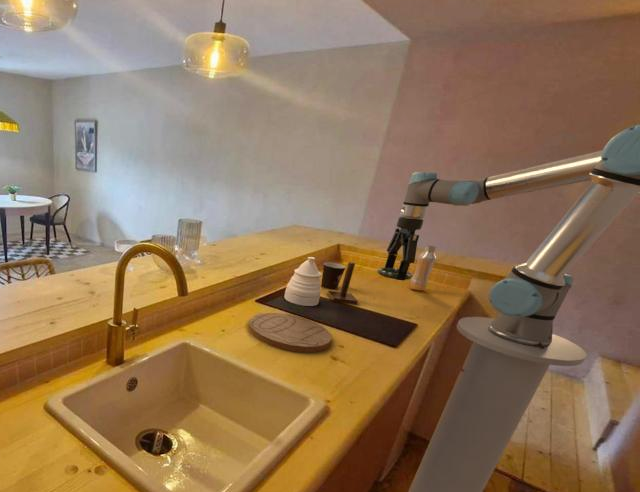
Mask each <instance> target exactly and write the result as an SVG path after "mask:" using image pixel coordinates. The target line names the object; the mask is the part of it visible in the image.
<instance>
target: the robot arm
mask: <svg viewBox="0 0 640 492" xmlns="http://www.w3.org/2000/svg"><path fill="white" fill-rule="evenodd" d="M589 181H590V183H589V184H588V186H587V187H586V189H585V190H584V191H583V192H582V194H581V195H580V196H579V197H578V198H577V199H576V200H575V202H574V203H573V204H572V206H571V207H570V208H569V209H568V211H567V212H566V213H565V214H564V215H563V217H562V218H561V219H560V220H559V222H558V223H557V224H556V225H555V226H554V227H553V229H552V230H551V231H550V233H549V234H548V235H547V236H546V237H545V238H544V239H543V241H542V242H541V243H540V245H538V247H537V248H536V249H535V251H534V252H533V253H532V254H531V256H530V257H529V258H528V259H527V261H525V262H522V263H518V264H515V265H514V266H513V268H512V269H511V270H510V271H509V272H508V273H507V274H506V276H505V278H503V279H501V280H499V281H498V282H496V283H495V284H494V285H492V287H491V288H490V290H489V293H488V300H489V303H490V305H491V307H492V308H493V309H494V310H496V311H497V312H498V313H499V314H498V315H497V316H496V317H495V318H494V321H492V322H491V323H490V325H489V327H488V330H489V331H490V332H491V333H492V334H494V335H496V336H498V337H500V338H503V339H505V340H508V341H511V342H515V343H518V344H522V345H527V346H533V347H541V349H544V347H548V346H550V344H551V342H552V334H553V327H554V326H553V323H554V320H555V318H556V316H557V314H558V313H559V310H560V308H561V307H562V304H563V303H564V300H565V299H566V296H567V295H568V293H569V291H570V289H571V288H572V287H573V282H574V277H573V276H572V275H570V274H567V273H568V271H570V269H571V268H572V267H573V266H574V265H575V264H576V263H577V261H578V260H579V259H581V257H582V256H583V255H584V254H585V253H586V252H587V251H588V250H589V248H590V247H591V246H592V245H593V244H594V243H595V242H596V240H597V239H598V238H599V237H600V236H601V235H602V234H603V232H605V230H606V229H607V228H609V226H610V225H611V224H612V223H613V222H614V220H615V219H616V218H618V216H619V215H620V214H621V212H622V211H624V209H626V207H627V206H628V205H629V204H630V203H631V202H632V201H633V200H634V198H635V197H636V196H637V195H639V194H640V124H636V125H633V126H630V127H628V128H626V129H624V130H622V131H620V132H618V133H617V134H616V135H614V136H613V137H612V138H611V139H610V140H609V141H608V142H607V143H606V144H605V146H604V147H603V149H602V150H601V149H600V150H597V151H593V152H589V153H585V154H580V155H576V156H571V157H568V158H563V159H559V160H555V161H550V162H546V163H542V164H539V165H534V166H530V167H526V168H521V169H517V170H513V171H507V172H505V173H501V174H497V175H496V174H495V175H491V176H488V177H483V178H479V179H475V180H451V179H450V180H449V179H440V178H439V174H438V173H437V172H429V171H428V172H427V171H425V172H424V171H416V172H413V173H412V175H411V177H410V180H409V181H408V182H409V183H408V184H407V188H406V189H407V190H406V193H405V196H404V200H403V203H402V205H401V207H400V213H399V215H400V216H399V217H398V219H397V222H396V227H397V228H395V229H394V234H393V235H392V238H391V240H390V242H389V244H388V246H387V248H386V252H387V254H388V255H387V259H386V261H385V265H384V268H386V267H387V268H395V265H396V261H397V256H398V255H399V253H398V252H399V251H400V249H401V247H402V260H400V261H399V267H398V269H399V270H398V273H397V276H396V279H395V280H396V281H404V282H405V281H406V280H405V278H406V274H407V271H408V272H409V268H410V266H411V265H410V264H414V263H415V261H416V254H417V247H418V241H419V238H420V235H419V234H416V231H417V230H418V231H419V230H422V227H423V224H424V221H425V220H424V218H426V215H427V213H428V209H429V205H430V203H438V204H444V205H452V206H455V207H457V206H459V207H460V206H462V207H467V206H470V205H474V204H480V203H482V202H485V201H490V200H495V199H500V198H501V199H502V198H505V197H506V198H507V197H511V196H516V195H521V194H526V193H531V192H536V191H542V190H547V189H552V188H557V187H562V186H568V185H574V184H578V183H584V182H589Z"/></svg>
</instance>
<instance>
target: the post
mask: <svg viewBox="0 0 640 492" xmlns="http://www.w3.org/2000/svg"><path fill="white" fill-rule="evenodd" d="M355 266H356V263H355V262H352V261H348V263H347V265H346V268H345V273H344V277H343V280H342V284H341V288H340V291H333V290H328V291H327V295H328V297H329V298H330V300H331V301H332V302H333V303H341V304H350V305H358V302H359V301H358V299H357V298H356V297H355V296H354V295H353V294H352V293H350V292H348V290H349V287H350V283H351V280H352V277H353V274H354V273H353V272H354V269H355Z"/></svg>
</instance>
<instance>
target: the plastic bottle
mask: <svg viewBox="0 0 640 492" xmlns="http://www.w3.org/2000/svg"><path fill="white" fill-rule="evenodd" d="M436 250H437V246H434V245H426V246H425V248H424V251H423V252H422V253H420V254H419V256H418V258H417V264H416V268H415V271H414V274H413V275H412V277H411V279H410V281H409V284H408V285H409V288H410V289H412V290H413V291H419V292H420V291H424V290H426V289H427V286H428V280H429V276H430V273H431V271H432V269H433V267H434V266H435V263H436V261H437V256H436V254H435V252H436Z"/></svg>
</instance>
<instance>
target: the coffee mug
mask: <svg viewBox="0 0 640 492" xmlns="http://www.w3.org/2000/svg"><path fill="white" fill-rule="evenodd" d="M345 271H346V266H345V265H343V264H341V263H337V262H324V263H323V267H322V276H321V283H320V285H321V288H324V289H328V290H337V289H338V287H339V284H340V282H341V280H342V277H343V275H344V272H345Z"/></svg>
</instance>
